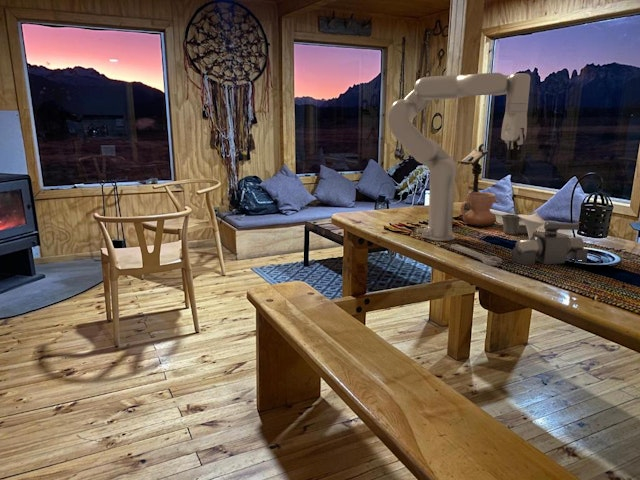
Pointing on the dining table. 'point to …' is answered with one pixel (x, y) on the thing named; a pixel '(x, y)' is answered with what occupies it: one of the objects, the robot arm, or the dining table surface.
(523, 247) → the valve body
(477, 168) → the bird statue
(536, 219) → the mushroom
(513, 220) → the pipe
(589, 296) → the dining table surface
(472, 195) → the ceramic jug
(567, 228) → the lever
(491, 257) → the adjustable wrench
